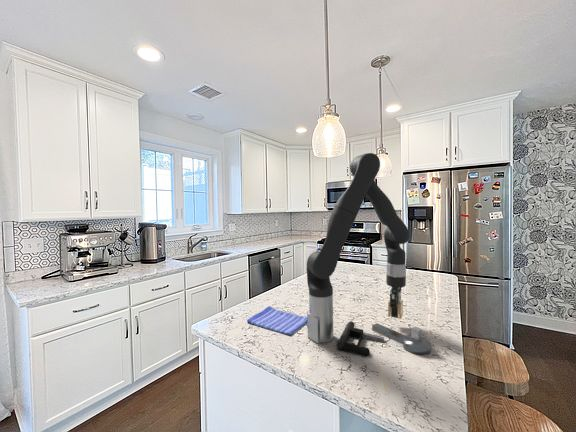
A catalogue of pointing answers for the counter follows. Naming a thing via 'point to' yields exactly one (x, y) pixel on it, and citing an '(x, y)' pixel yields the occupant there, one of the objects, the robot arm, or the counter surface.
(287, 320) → the dish towel
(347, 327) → the door handle
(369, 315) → the counter surface
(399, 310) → the brass cube frame
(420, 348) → the ratchet
